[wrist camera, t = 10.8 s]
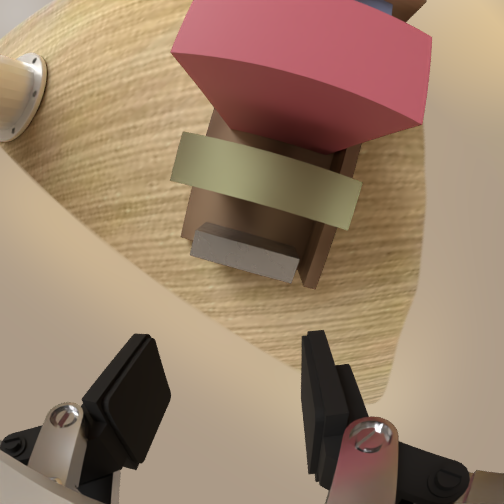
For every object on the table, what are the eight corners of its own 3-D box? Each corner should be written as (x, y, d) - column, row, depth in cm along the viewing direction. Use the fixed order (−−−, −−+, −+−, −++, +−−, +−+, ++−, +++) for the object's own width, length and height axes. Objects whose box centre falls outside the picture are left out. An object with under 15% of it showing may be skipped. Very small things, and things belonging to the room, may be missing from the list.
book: (229, 128, 23) (170, 52, 7) (242, 87, 22) (208, -29, 6) (325, 155, 23) (422, 124, 7) (336, 113, 22) (432, 37, 6)
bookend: (201, 243, 25) (190, 255, 21) (206, 221, 25) (195, 230, 21) (287, 267, 25) (291, 283, 21) (294, 246, 25) (299, 259, 21)
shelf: (184, 234, 26) (118, 284, 14) (246, 24, 21) (232, -64, 8) (306, 268, 27) (338, 346, 14) (365, 58, 21) (426, -8, 8)
